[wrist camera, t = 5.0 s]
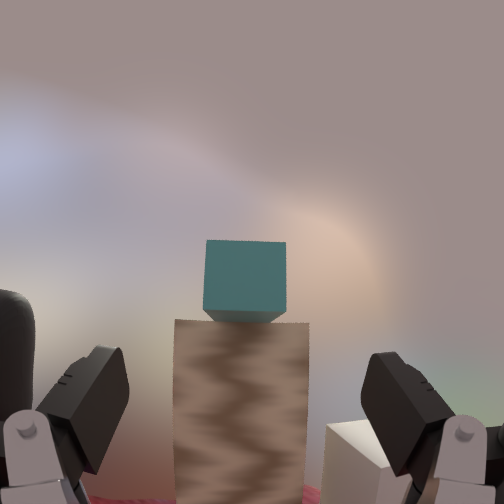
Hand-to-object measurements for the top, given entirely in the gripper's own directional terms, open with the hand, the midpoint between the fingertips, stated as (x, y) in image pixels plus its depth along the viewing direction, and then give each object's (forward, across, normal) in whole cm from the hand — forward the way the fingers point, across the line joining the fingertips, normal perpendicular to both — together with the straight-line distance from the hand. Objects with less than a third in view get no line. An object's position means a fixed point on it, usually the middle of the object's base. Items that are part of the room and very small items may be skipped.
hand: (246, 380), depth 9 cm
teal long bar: (+15, 0, +6) cm, 16 cm away
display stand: (+3, 0, +35) cm, 35 cm away
